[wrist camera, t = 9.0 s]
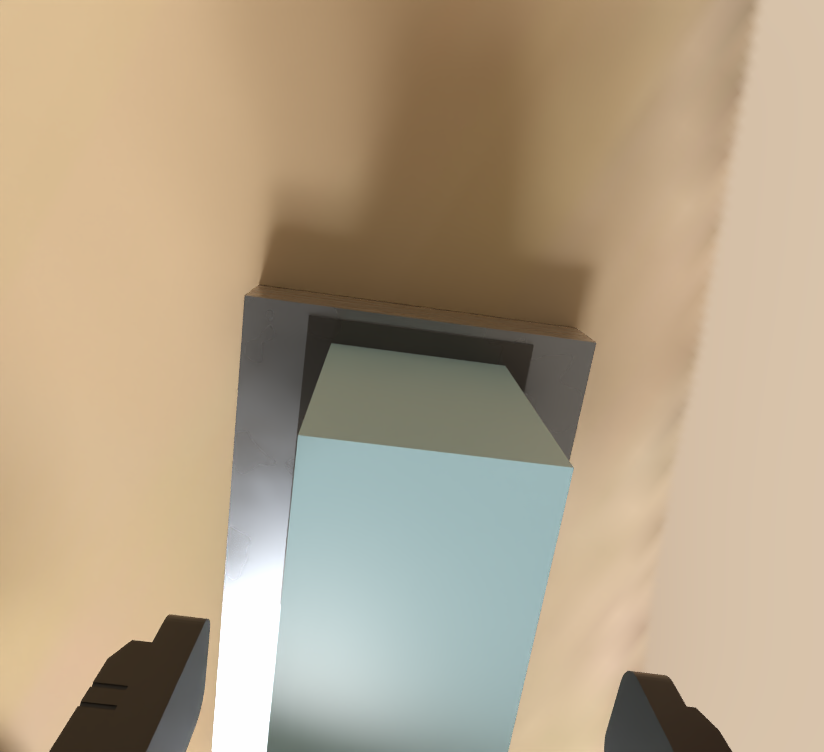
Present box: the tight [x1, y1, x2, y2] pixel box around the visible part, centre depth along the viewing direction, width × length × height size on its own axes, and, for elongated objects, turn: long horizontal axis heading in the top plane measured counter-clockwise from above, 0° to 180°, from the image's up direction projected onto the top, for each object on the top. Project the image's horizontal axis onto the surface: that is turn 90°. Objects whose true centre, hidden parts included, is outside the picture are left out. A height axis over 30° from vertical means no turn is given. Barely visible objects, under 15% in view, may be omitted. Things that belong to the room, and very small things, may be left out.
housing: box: [212, 285, 596, 752], centre depth 21 cm, size 10×18×2 cm, turn 172°
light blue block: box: [266, 343, 574, 752], centre depth 16 cm, size 5×8×7 cm, turn 172°
